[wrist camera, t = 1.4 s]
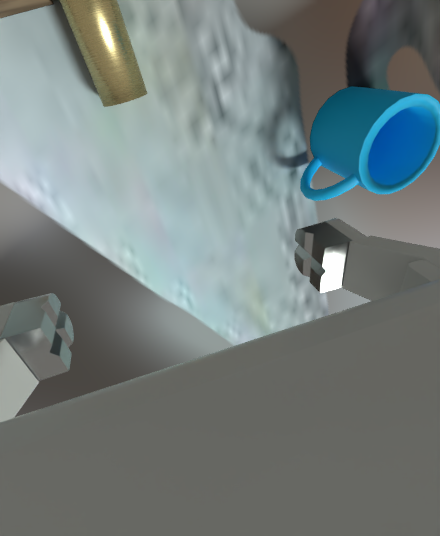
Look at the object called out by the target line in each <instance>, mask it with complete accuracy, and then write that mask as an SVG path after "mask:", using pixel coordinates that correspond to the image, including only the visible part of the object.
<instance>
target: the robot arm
mask: <svg viewBox="0 0 440 536" xmlns="http://www.w3.org/2000/svg"><path fill="white" fill-rule="evenodd" d="M295 241H296V242H297V243H298V244H299V245H298V246H297V248H296V250H295V262H296V266H297V268H298V270H299V271H300V272H301V273H302V274H303V275H305V276H308V277H310V283H311V284H312V285H313V286H314V287H315V288H316V289H317V290H318V291H319V292H320V293H322V292H326V291H329V290H333V289H336V288H340V287H342V288H344V289H346V290H348V291H350V292H353V293H355V294H357V295H359V296H362V297H364V298H366V299H369V300H371V302H368V303H365V304H362V305H359V306H355V307H352V308H349V309H347V310H343V311H341V312H337V313H334V314H331V315H328V316H325V317H322V318H319V319H316V320H312V321H309V322H306V323H303V324H300V325H297V326H294V327H291V328H288V329H285V330H282V331H279V332H276V333H273V334H269V335H266V336H263V337H260V338H257V339H254V340H251V341H248V342H245V343H242V344H239V345H236V346H233V347H230V348H227V349H224V350H221V351H218V352H215V353H212V354H209V355H205V356H202V357H199V358H196V359H193V360H190V361H187V362H184V363H181V364H178V365H175V366H172V367H169V368H166V369H162V370H159V371H156V372H153V373H151V374H147V375H144V376H141V377H138V378H135V379H132V380H129V381H126V382H123V383H120V384H116V385H114V386H110V387H107V388H104V389H101V390H98V391H95V392H92V393H89V394H86V395H83V396H80V397H77V398H74V399H70V400H67V401H64V402H61V403H58V404H55V405H52V406H49V407H46V408H43V409H40V410H37V411H34V412H30V413H27V414H24V415H21V416H18V417H15V418H14V416H15V415H16V414H17V413H18V411H19V410H20V408H21V407H22V406H23V404H24V403H25V401H26V400H27V399H28V397H29V396H30V394H31V393H32V391H33V390H34V389H35V387H36V386H37V385H38V383H39V381H40V380H42V379H46V378H49V377H51V376H54V375H58V374H61V373H64V372H67V371H69V367H70V360H71V352H70V350H69V349H68V348H69V346H70V345H71V344H72V343H73V336H74V334H73V327H72V324H71V321H70V319H69V317H68V315H67V314H66V313H64V312H62V311H59V310H60V305H61V303H60V301H59V300H58V298H57V297H56V295H54V294H52V293H51V294H47V295H43V296H39V297H35V298H31V299H26V300H22V301H18V302H13V303H10V304H6V305H3V306H0V536H440V249H438V248H432V247H427V246H422V245H417V244H412V243H406V242H401V241H396V240H390V239H385V238H380V237H375V236H369V237H367V236H365V235H364V234H362V233H360V232H359V231H357V230H356V229H354V228H353V227H351V226H350V225H348V224H346V223H345V222H343V221H342V220H340V219H336V218H334V219H331V220H328V221H324V222H322V223H318V224H315V225H311V226H308V227H304V228H301V229H297V231H296V234H295Z"/></svg>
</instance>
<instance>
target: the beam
mask: <svg viewBox="0 0 440 536" xmlns="http://www.w3.org/2000/svg"><path fill="white" fill-rule="evenodd" d="M52 4H53V2H52V0H0V18H3V17H7V16H10V15H14V14H18V13H22V12H25V11H29V10H33V9H37V8H40V7H44V6H48V5H52Z"/></svg>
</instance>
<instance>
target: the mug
mask: <svg viewBox="0 0 440 536" xmlns="http://www.w3.org/2000/svg"><path fill="white" fill-rule="evenodd" d="M439 145H440V104H439V102H438V101H437V100H436V99H434V98H433V97H431V96H430V95H427V94H418V93H409V92H400V91H392V90H383V89H374V88H365V87H352V86H351V87H348V88H345V89H342V90H339V91H338V92H336V93H335V94H334V95H332V96H331V97H330V98H328V99H327V101H326V102H325V103H324V104H323V106H322V107H321V108H320V110H319V111H318V113H317V115H316V117H315V120H314V121H313V124H312V129H311V134H310V149H311V151H312V154H313V157H314V159H313V160H312V161H311V162H310V164H309V165H308V166H307V168H306V169H305V171H304V173H303V176H302V178H301V187H300V188H301V191H302V193H303V194H304V196H305V197H306V198H308V199H311V200H314V201H316V200H327V199H330V198H333V197H336V196H339V195H340V194H342V193H344V192H346V191H348V190H350V189H352V188H353V187H355V186H356V185H359V186H361V187H363V188H365V189H367V190H369V191H371V192H374V193H376V194H391V193H393V192H396V191H399V190H401V189H403V188H405V187H406V186H407V185H409V184H410V183H412V182H413V181H415V180H416V179H417V177H418V176H420V175H421V174H422V172H424V171H425V169H426V168H427V166H428V165H429V163H430V162H431V160H432V159H433V158H434V156H435V154H436V152H437V150H438V147H439ZM320 166H323V167H325V168H327V169H329V170H330V171H332V172H334V173H336V174H338V175H340V176H342V177H344V178H346V179H344V180H343V181H341V182H339V183H337V184H335V185H333V186H330V187H327V188H325V189H318V190H314V189H311V188H310V182H311V179H312V177H313V175H314V173H315V172H316V171H317V169H318V168H319V167H320Z"/></svg>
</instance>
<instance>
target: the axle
mask: <svg viewBox="0 0 440 536" xmlns="http://www.w3.org/2000/svg"><path fill="white" fill-rule="evenodd" d="M60 3H61V5H62V8H63V10H64V12H65V15H66V17H67V20H68V22H69V24H70V27H71V29H72V32H73V34H74V36H75V39H76V41H77V44H78V46H79V48H80V51H81V53H82V56H83V58H84V60H85V63H86V65H87V68H88V70H89V72H90V75H91V77H92V79H93V82H94V84H95V87H96V89H97V91H98V94H99V96H100V99H101V101H102V103H103V106H104V107H107V106H113V105H117V104H121V103H124V102H128V101H131V100H134V99H136V98H139V97H142V96H144V95H146V94H147V91H146V87H145V84H144V81H143V78H142V75H141V72H140V69H139V66H138V63H137V60H136V57H135V54H134V51H133V48H132V45H131V42H130V39H129V36H128V33H127V30H126V27H125V24H124V21H123V17H122V14H121V11H120V8H119V5H118V2H117V0H60Z"/></svg>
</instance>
